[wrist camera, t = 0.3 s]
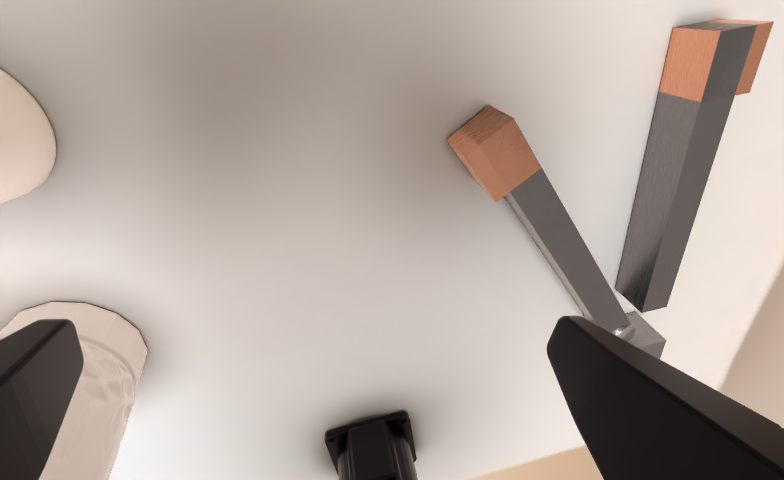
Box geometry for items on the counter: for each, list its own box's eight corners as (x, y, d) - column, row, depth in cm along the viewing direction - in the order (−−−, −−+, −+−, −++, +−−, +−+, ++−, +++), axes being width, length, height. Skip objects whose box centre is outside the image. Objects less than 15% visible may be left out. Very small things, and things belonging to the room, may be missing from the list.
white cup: (154, 294, 21) (60, 486, 13) (163, 394, 25) (94, 594, 17) (-30, 286, 19) (-289, 513, 11) (10, 397, 23) (-159, 629, 14)
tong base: (632, 336, 31) (661, 365, 29) (571, 352, 31) (596, 383, 28) (720, 19, 20) (782, 22, 17) (624, 36, 19) (673, 41, 17)
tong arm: (613, 309, 29) (639, 335, 27) (581, 330, 29) (604, 356, 27) (490, 103, 19) (515, 116, 17) (446, 139, 20) (464, 157, 18)
